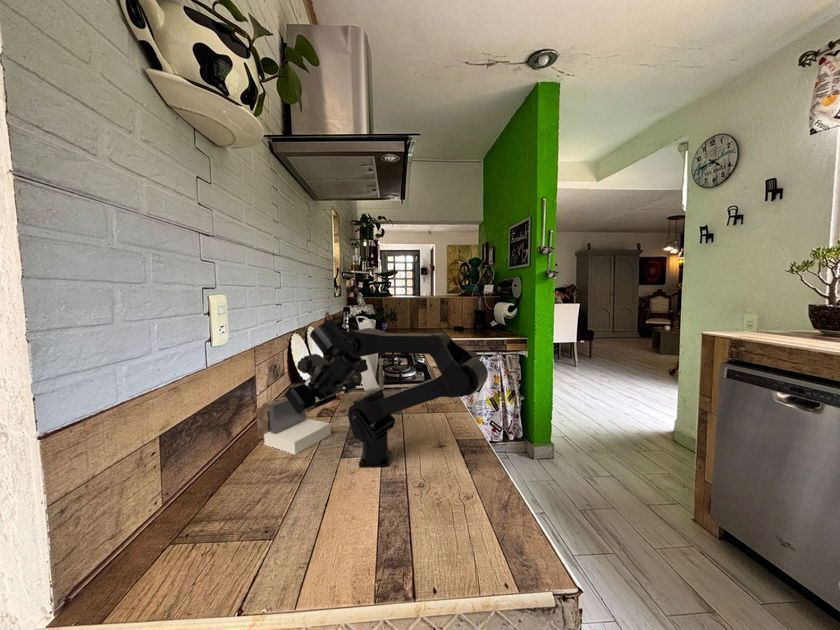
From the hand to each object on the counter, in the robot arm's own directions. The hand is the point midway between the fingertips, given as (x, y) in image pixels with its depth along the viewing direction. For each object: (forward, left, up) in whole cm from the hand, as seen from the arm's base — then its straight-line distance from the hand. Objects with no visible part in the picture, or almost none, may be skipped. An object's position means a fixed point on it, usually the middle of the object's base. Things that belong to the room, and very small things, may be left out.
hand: (307, 409), depth 86 cm
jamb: (+5, +10, -8) cm, 14 cm away
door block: (+2, +3, -8) cm, 9 cm away
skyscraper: (+46, -8, -9) cm, 47 cm away
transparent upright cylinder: (+41, -43, -9) cm, 60 cm away
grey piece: (+4, +9, -5) cm, 11 cm away
